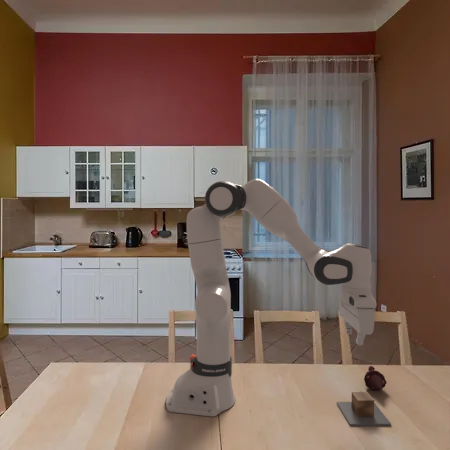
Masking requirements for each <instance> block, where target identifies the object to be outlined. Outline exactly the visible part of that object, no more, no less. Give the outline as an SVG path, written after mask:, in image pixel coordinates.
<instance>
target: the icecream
mask: <svg viewBox="0 0 450 450" xmlns="http://www.w3.org/2000/svg"><path fill="white" fill-rule="evenodd" d="M375 369H376V368H375V367H374V366H373V365H369V366H368V371H367V372H365V375H364V378H363V380H364V384H365V385H364V386H366V387H367V388H368V389H370V391H372V392H380V391H382V390H383V389H384V388H385V387H386V384H387V383H388V381H387V380H386V378H385V376H384V374H382V373H381V372H380V371H378V370H375Z"/></svg>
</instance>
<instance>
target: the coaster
mask: <svg viewBox="0 0 450 450" xmlns="http://www.w3.org/2000/svg"><path fill="white" fill-rule="evenodd" d="M351 404H352V401H336V405H337V407H338V408H339V410H340V411H341V413H342V415H343V416H344V418H345V420H346V422H347V423H348V425H349V427H356V426H357V427H365V426H366V427H367V426H368V427H376V426H377V427H378V426H379V427H380V426H386V427H391V426H392V423H391V421H389V419H388V418H387V417H386V415H385V414H384V413H383V411H382V410H381V409H380V407H379V406H378V405H377V403H376V402H374V417H357V415H356V414H355V412H354V411H353V409H352V408H351Z"/></svg>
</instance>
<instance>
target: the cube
mask: <svg viewBox="0 0 450 450" xmlns="http://www.w3.org/2000/svg"><path fill="white" fill-rule="evenodd" d="M351 402H352V404H351V408H352V409H353V411H354V412H355V414H356V415H357V417H374V403H375V399H374V398H373V397H372V395H371V394H370V393H369V391H351Z"/></svg>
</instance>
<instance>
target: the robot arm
mask: <svg viewBox="0 0 450 450" xmlns="http://www.w3.org/2000/svg"><path fill="white" fill-rule="evenodd" d="M204 194H205V195H204V204H203V205H201V206H196V207H194V208H192V209H190V210H189V211H188V213H187V215H186V238H187V239H186V241H187V246H188V252H189V253H188V254H189V260H190V265H191V270H192V272H193V276H194V281H195V284H196V290H197V294H196V297H195V300H194V313H195V314H194V315H195V316H194V317H195V331H196V354H194V353H193V354H191V355H190V358H189V361H190V364H189V365H190V368H189V369H188V370H186V371H184V372H182V374H180V375H179V376H178V377H177V379H176V380H175V383H174V384H173V385H174V386H173V388H172V389H170V391H169V392H168V394H167V396H166V399H165V407H166V408H165V409H166V410H167V411H168V412H170V413H178V414H184V415H185V414H186V415H195V416H204V417H217V416H218V415H219V414H220V413H221V412H222V413H223V412H224V411H227V410H228V409H230V408H232V407H233V405H235V403H236V397H235V394H234V389H233V383H232V382H233V381H232V374H233V361H232V360H233V359H232V356H231V338H232V337H231V336H232V335H231V303H232V301H231V300H232V299H231V298H232V295H231V294H232V293H231V287H230V281H229V274H228V269H227V264H226V258H225V251H224V245H223V240H222V239H223V238H222V232H221V231H222V230H221V222H222V220H223V219H224V218H227V217H230V216H233V215H234V214H236V213H237V212H238V211H240V210H241V211H245V212H247V213H248V214H250V215H251V216H252V217H253V218H254V219H255V221H257V223H258V224H259V225H260V226H261V227H262V228H264V229H265V230H267V231H268V232H269V233H270V234H272V235H274V236H276V237H278V238H281V239H282V240H284V241H286V242H287V243H288V244H289V245H290V246H291V247H292V248H293V249H294V250H295V251H296V252H297V253H298V255H300V257H301V258H303V260H304V263H305V265H306V268H307V270H308V273H309V274H311V276H312V277H314V278H315V279H316V281H318V282H319V283H321V284H323V285H326V286H333V285H340V298H339V305H338V306H339V307H338V308H339V309H338V313H339V316H340V317H341V318H342V319H343V322H344V327H345V328H344V329H345V333H346V334H347V335H353V329H354V330H355V331H356V333H357V337H355V343H356V345H358V346H363V345H364V340H365V339H366V335H372V334H373V333H374V329H375V319H376V317H375V316H376V313H375V308H377V305H378V304H377V300H376V299H375V297H374V295H373V293H372V284H371V276H372V271H373V270H372V265H373V264H372V254H371V253H372V252H371V251H370V249H369V248H368V247H366V246H364V245H361V244H357V243H350V242H347V243H345V244H344V245H342V246H340V247H338V248H337V249H335V250H331V251H329V250H326V249H324V248H322V247H319V245H317V244H316V243H315V242H314V241H313V240H312V239H311V238H310V237H309V236H308V235H307V234H306V233H305V231H304V230H303V229H302V227H301V226H300V224H299V222H298V218H297V214H296V212H295V210H294V209H293V208H292V206H291V205H290V204H289V202H288V201H287V200H286V199H285V198H284V197H283V196H282V194H280V193H279V192H278V191H277V190H276V189H275V188H274V187H272V185H270V184H268V183H267V182H266V181H264V180H262V179H260V178H254V179H251V180H249V181H247V182H246V183H245V184H244V185H241V184H237V183H234V182H233V183H232V182H230V181H226V180H224V181H222V180H221V181H216V182H214V183H212V184H211V185H209V187H208V188H207V190H206V192H205V193H204Z"/></svg>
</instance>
